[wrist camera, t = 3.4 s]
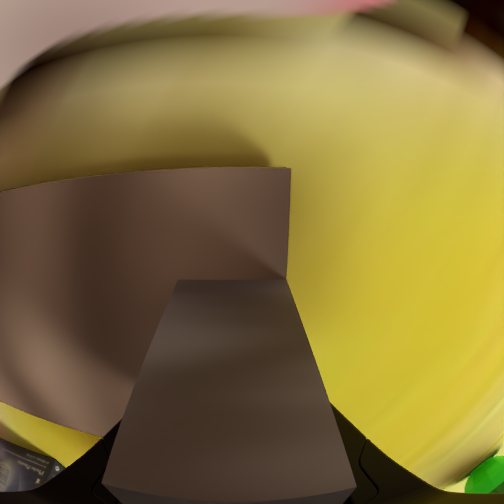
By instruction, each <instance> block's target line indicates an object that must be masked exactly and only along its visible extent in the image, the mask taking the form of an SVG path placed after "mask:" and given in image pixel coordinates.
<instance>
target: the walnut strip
mask: <svg viewBox="0 0 504 504" xmlns="http://www.w3.org/2000/svg"><path fill="white" fill-rule="evenodd" d="M290 183H291V169H290V168H286V167H249V166H238V167H192V168H171V169H155V170H142V171H130V172H120V173H110V174H101V175H93V176H85V177H78V178H70V179H64V180H57V181H51V182H45V183H39V184H34V185H29V186H23V187H18V188H14V189H9V190H4V191H0V401H1V402H3V403H5V404H8V405H10V406H12V407H14V408H17V409H19V410H21V411H24V412H26V413H29V414H31V415H34V416H36V417H39V418H42V419H44V420H47V421H50V422H53V423H56V424H59V425H62V426H65V427H68V428H72V429H75V430H79V431H82V432H86V433H90V434H93V435H98V436H102V437H103V436H104V435H105V434H106V433H107V432H109V431H110V430H111V429H112V428H113V427H114V426H115V425H116V424H117V423H118V422H119V421H120V420H121V419H122V421H121V424H120V427H119V430H118V433H117V436H116V439H115V442H114V445H113V448H112V451H111V454H110V457H109V460H108V463H107V466H106V470H105V473H104V476H103V480H102V484H103V485H104V486H105V487H106V488H107V489H108V490H109V491H110V492H111V493H112V494H113V495H114V496H115V497H116V498H117V499H118V500H119V501H120V502H121V503H123V504H343V503H344V502H345V500H346V499H347V498H348V497H349V496H350V495H351V493H352V492H353V491H354V490H355V489H356V487H357V486H356V482H355V479H354V476H353V473H352V470H351V466H350V463H349V460H348V457H347V454H346V451H345V447H344V444H343V441H342V438H341V435H340V432H339V429H338V426H337V423H336V420H335V417H334V414H333V411H332V408H331V405H330V402H329V399H328V396H327V393H326V390H325V387H324V384H323V381H322V378H321V375H320V372H319V370H318V367H317V364H316V361H315V358H314V355H313V352H312V349H311V347H310V344H309V341H308V338H307V335H306V332H305V330H304V327H303V324H302V321H301V318H300V316H299V313H298V310H297V307H296V305H295V302H294V299H293V296H292V294H291V291H290V288H289V285H288V283H287V280H286V274H287V256H288V236H289V213H290Z"/></svg>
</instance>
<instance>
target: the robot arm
mask: <svg viewBox="0 0 504 504" xmlns="http://www.w3.org/2000/svg"><path fill="white" fill-rule="evenodd" d="M330 405H331V408H332V411H333V414H334V417H335V420H336V423H337V426H338V429H339V432H340V435H341V438H342V441H343V444H344V447H345V451H346V454H347V457H348V460H349V463H350V466H351V470H352V473H353V476H354V479H355V482H356V486H357V487H356V489H355V490H354V491H353V492H352V493H351V495H350V496H349V497H348V498H347V499H346V500H345V502H344V503H343V504H504V493H457V492H448V491H444V490H440V489H438V488H436V487H433V486H432V485H430V484H428V483H427V482H425V481H423V480H422V479H420V478H419V477H417V476H416V475H414V474H412V473H411V472H409V471H408V470H406V469H405V468H403V467H402V466H400V465H399V464H398V463H396V462H395V461H394V460H392V459H391V458H390V457H388V456H387V455H386V454H385V453H383V452H382V451H381V450H380V449H379V448H378V447H376V446H375V445H374V444H373V443H372V442H371V441H370V440H369V439H366V436H364V435H363V434H362V433H361V432H360V431H359V430H358V429H357V428H356V427H355V426H354V425H353V424H352V423H351V422H350V421H349V420H348V419H347V418H346V417H345V416H344V415H343V414H341V413H340V412H339V411H338V410H337V409H336V408H335V407H334V406H333V405H332V404H331V403H330ZM121 421H122V419H121V420H120V421H119V422H118V423H117V424H116V425H115V426H114V427H113V428H112V429H111V430H110V431H109V432H107V433H106V434H105V435H104V436H103V439H100V440H99V441H98V442H97V443H96V444H95V445H94V446H93V447H92V448H91V449H89V450H88V451H87V452H86V453H85V454H84V455H83V456H81V457H80V458H79V459H77V460H76V461H75V462H74V463H72V464H71V465H70V466H68V467H67V468H65V469H64V470H63V471H61V472H60V473H58V474H57V475H55V476H54V477H52V478H51V479H50V480H48V481H47V482H45V483H44V484H42V485H40V486H38V487H36V488H33V489H30V490H26V491H9V492H0V504H123V503H121V502H120V501H119V500H118V499H117V498H116V497H115V496H114V495H113V494H112V493H111V492H110V491H109V490H108V489H107V488H106V487H105V486H104V485H103V484H102V480H103V476H104V473H105V470H106V466H107V463H108V460H109V457H110V454H111V451H112V448H113V445H114V442H115V439H116V436H117V433H118V430H119V427H120V424H121Z"/></svg>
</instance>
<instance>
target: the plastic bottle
mask: <svg viewBox="0 0 504 504" xmlns="http://www.w3.org/2000/svg"><path fill="white" fill-rule="evenodd" d="M469 475H470V477H469V478H468V480H467V482H466V485H465V493H504V456H496V457H493V456H492V457H490V458H488V459H487V460H486V461H484V462H483V463H482V464H480V465H479V466H478V467H477V468H476V469H474V470H473V471H472V472H471V473H470V474H469Z"/></svg>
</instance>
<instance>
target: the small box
mask: <svg viewBox="0 0 504 504" xmlns="http://www.w3.org/2000/svg"><path fill="white" fill-rule="evenodd" d="M64 469H65V468H64V467H63V466H62V465H61V464H60V463H58V462H57V461H56V460H55V459H52V458H49V457H46V456H43V455H40V454H37V453H34V452H31V451H29V450H26V449H24V448H21V447H19V446H16V445H14V444H11V443H9V442H7V441H5V440H2V439H0V492H9V491H26V490H30V489H33V488H36V487H38V486H40V485H42V484H44V483H45V482H47V481H48V480H50V479H51V478H52V477H54V476H55V475H57V474H58V473H60V472H61V471H63V470H64Z"/></svg>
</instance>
